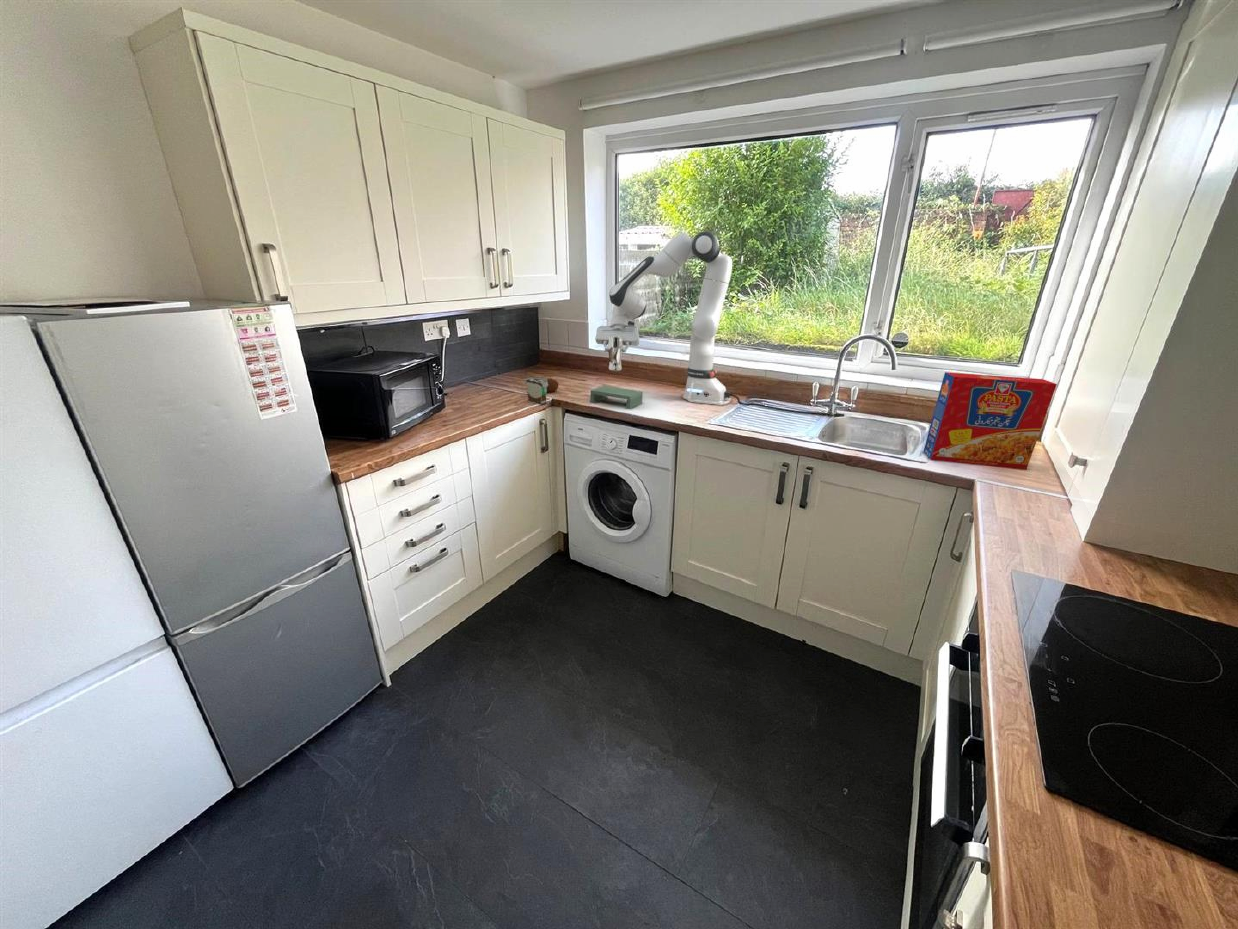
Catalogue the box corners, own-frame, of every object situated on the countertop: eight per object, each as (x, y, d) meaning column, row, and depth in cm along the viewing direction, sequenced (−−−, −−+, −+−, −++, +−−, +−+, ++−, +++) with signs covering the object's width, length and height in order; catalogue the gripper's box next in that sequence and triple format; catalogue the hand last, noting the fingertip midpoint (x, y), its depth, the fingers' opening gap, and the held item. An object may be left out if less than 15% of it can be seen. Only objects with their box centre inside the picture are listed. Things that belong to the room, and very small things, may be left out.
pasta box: (930, 459, 166) (954, 376, 156) (923, 452, 174) (944, 372, 163) (1026, 469, 160) (1057, 384, 150) (1014, 461, 168) (1042, 379, 158)
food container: (554, 403, 218) (554, 381, 214) (543, 405, 214) (542, 382, 210) (537, 398, 226) (536, 376, 222) (526, 400, 222) (525, 378, 218)
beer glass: (612, 367, 235) (613, 334, 229) (625, 369, 232) (626, 336, 226) (604, 369, 229) (605, 336, 224) (617, 371, 226) (618, 337, 220)
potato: (562, 390, 242) (562, 377, 240) (548, 394, 233) (548, 381, 231) (552, 388, 245) (552, 375, 243) (538, 393, 236) (537, 379, 233)
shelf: (642, 403, 224) (642, 391, 222) (629, 409, 214) (630, 396, 212) (603, 397, 233) (604, 385, 231) (590, 402, 223) (590, 390, 221)
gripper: (596, 321, 231) (592, 345, 225) (640, 323, 228) (636, 347, 222) (598, 330, 236) (594, 354, 231) (641, 332, 234) (637, 356, 228)
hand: (615, 351), depth 227 cm, fingers closed on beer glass, 7 cm apart
